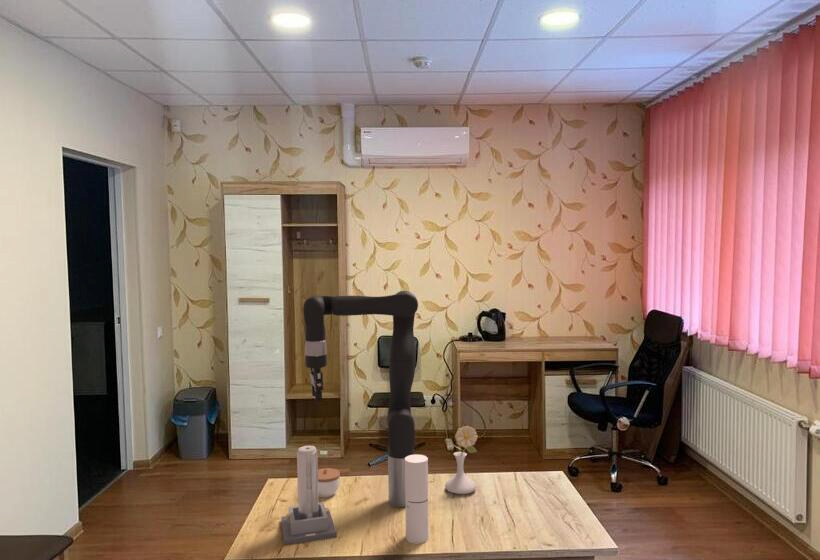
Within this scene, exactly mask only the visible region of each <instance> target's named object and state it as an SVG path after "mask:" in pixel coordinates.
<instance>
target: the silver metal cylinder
mask: <svg viewBox="0 0 820 560" xmlns="http://www.w3.org/2000/svg"><path fill="white" fill-rule="evenodd" d="M296 463H297V464H296V466H297V467H296V468H297V473H296V474H297V506H298V520H302V519H309V518H316V517H319V506H318V503H319V496H318V470H319V467H318V463H319V462H318V449H317V447H316V445H303V446H301V447H298V450H297V451H296Z"/></svg>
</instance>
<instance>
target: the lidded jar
mask: <svg viewBox="0 0 820 560" xmlns="http://www.w3.org/2000/svg"><path fill="white" fill-rule="evenodd" d="M340 482H341V472H340V470H338V469H336V468H331V467H330V468H329V467H326V468H325V467H324V468H318V498H324V499H325V498H330V497H333V496H334V495H335V493H337V491H338V489H339V486H340Z"/></svg>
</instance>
